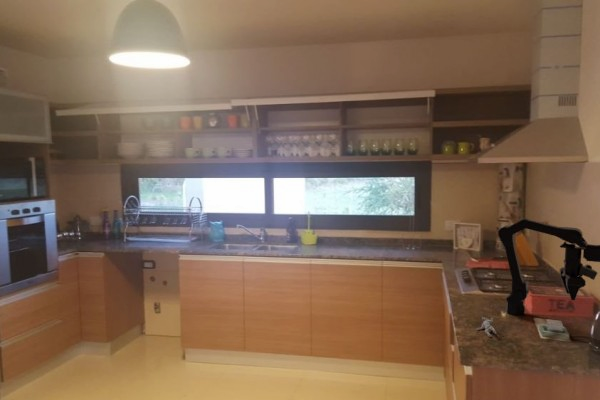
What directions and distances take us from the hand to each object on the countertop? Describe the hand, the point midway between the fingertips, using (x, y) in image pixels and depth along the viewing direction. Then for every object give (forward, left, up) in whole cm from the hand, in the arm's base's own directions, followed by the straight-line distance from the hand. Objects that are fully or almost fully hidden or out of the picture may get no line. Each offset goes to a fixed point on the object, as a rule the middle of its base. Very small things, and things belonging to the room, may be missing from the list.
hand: (570, 296), depth 186 cm
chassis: (-8, -10, -12) cm, 18 cm away
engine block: (-8, -16, -11) cm, 21 cm away
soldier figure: (-31, -19, -12) cm, 39 cm away
